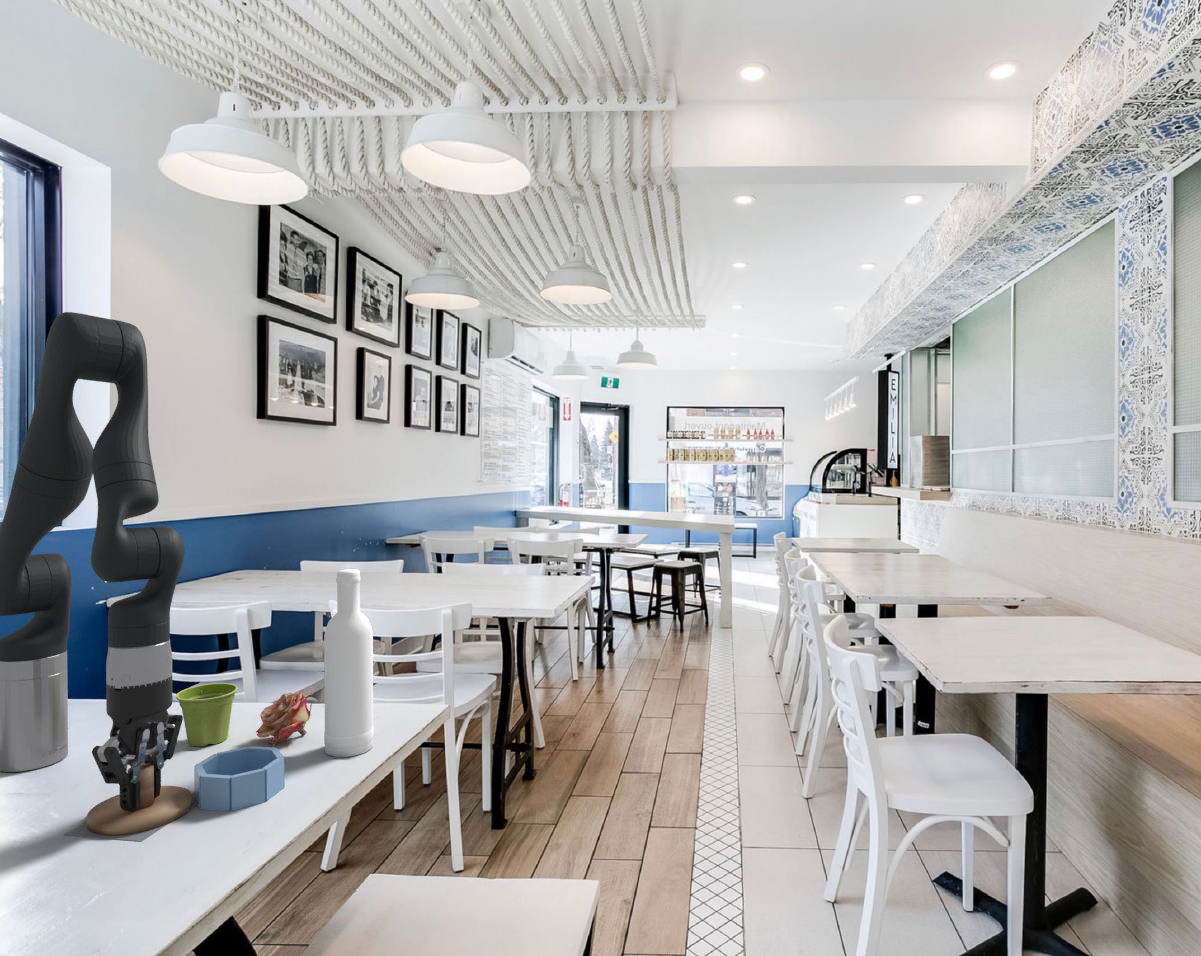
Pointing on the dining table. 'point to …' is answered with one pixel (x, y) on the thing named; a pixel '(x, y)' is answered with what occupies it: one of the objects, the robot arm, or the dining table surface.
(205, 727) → the plant pot
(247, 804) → the bowl
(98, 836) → the mat
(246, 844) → the dining table surface
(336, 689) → the bottle
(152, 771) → the lid
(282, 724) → the flower
